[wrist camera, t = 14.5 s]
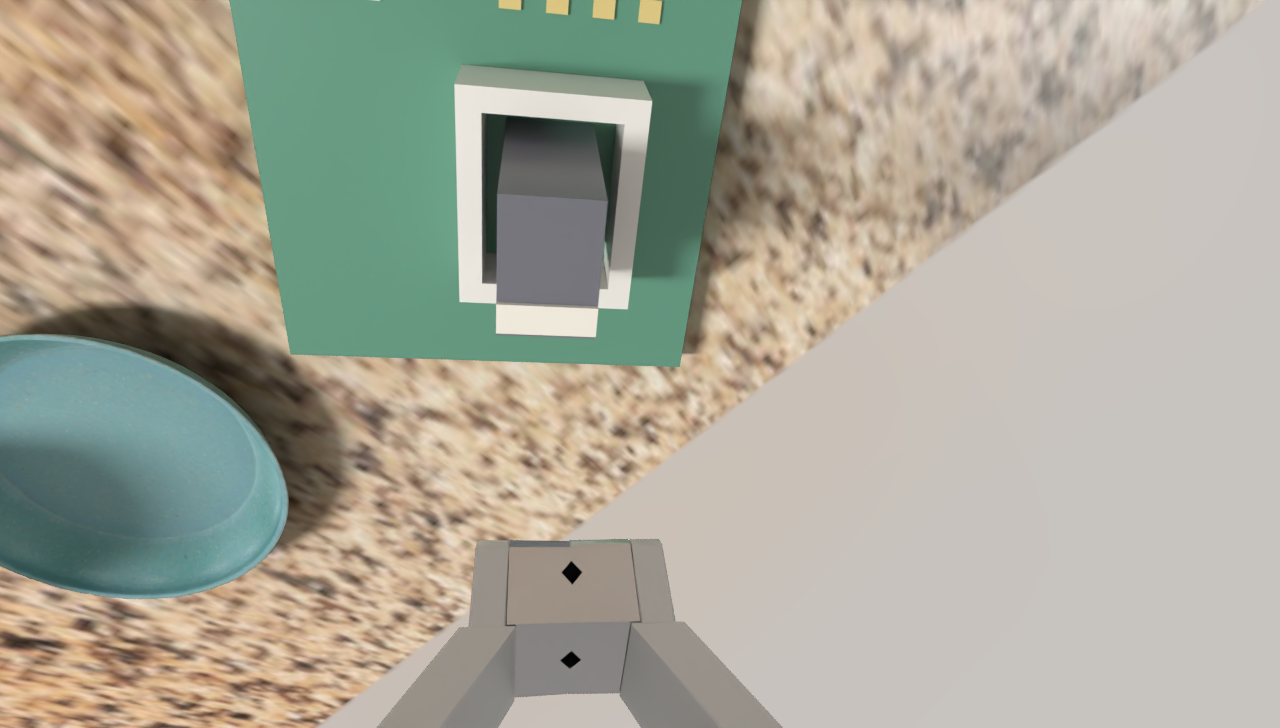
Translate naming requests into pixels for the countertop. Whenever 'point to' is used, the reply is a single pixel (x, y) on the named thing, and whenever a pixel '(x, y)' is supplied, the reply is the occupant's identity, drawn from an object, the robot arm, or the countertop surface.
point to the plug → (549, 230)
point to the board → (477, 162)
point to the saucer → (128, 472)
